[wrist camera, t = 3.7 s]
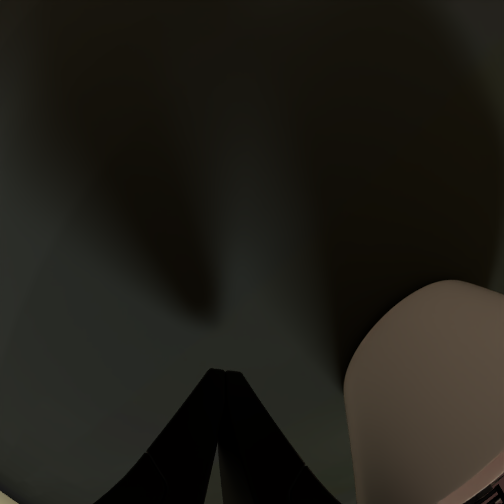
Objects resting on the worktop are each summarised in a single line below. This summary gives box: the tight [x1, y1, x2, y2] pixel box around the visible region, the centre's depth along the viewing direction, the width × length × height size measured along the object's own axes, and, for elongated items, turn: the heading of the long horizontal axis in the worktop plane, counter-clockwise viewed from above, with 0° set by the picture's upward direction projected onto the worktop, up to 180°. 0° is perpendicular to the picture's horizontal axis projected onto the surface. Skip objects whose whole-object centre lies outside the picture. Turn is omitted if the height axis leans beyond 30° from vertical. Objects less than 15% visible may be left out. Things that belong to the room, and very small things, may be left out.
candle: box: [343, 280, 504, 504], centre depth 6 cm, size 9×9×6 cm
